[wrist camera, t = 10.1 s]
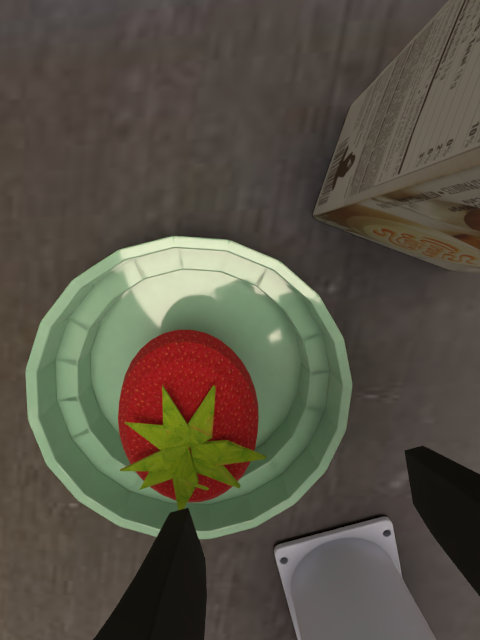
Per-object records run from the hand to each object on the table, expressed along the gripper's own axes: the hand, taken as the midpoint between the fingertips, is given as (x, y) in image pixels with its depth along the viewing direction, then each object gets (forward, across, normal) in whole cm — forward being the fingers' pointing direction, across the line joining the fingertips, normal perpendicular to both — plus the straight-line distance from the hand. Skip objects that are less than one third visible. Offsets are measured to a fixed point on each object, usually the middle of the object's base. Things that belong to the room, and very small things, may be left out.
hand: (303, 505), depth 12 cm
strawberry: (+10, +4, -2) cm, 11 cm away
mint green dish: (+10, +4, -2) cm, 11 cm away
